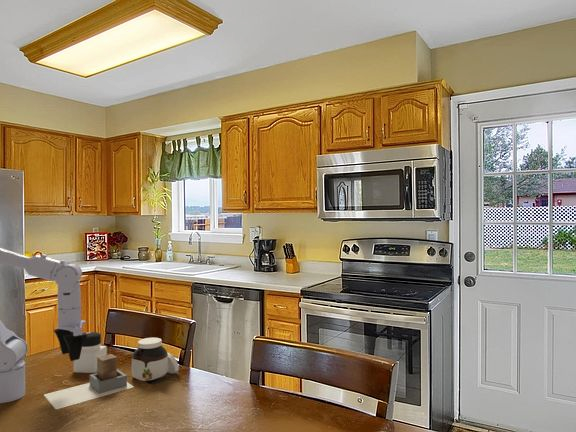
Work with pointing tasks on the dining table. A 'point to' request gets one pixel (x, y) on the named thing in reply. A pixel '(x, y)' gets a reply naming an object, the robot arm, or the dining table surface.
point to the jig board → (88, 390)
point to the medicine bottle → (90, 353)
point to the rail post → (106, 367)
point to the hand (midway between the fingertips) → (70, 356)
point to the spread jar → (152, 361)
